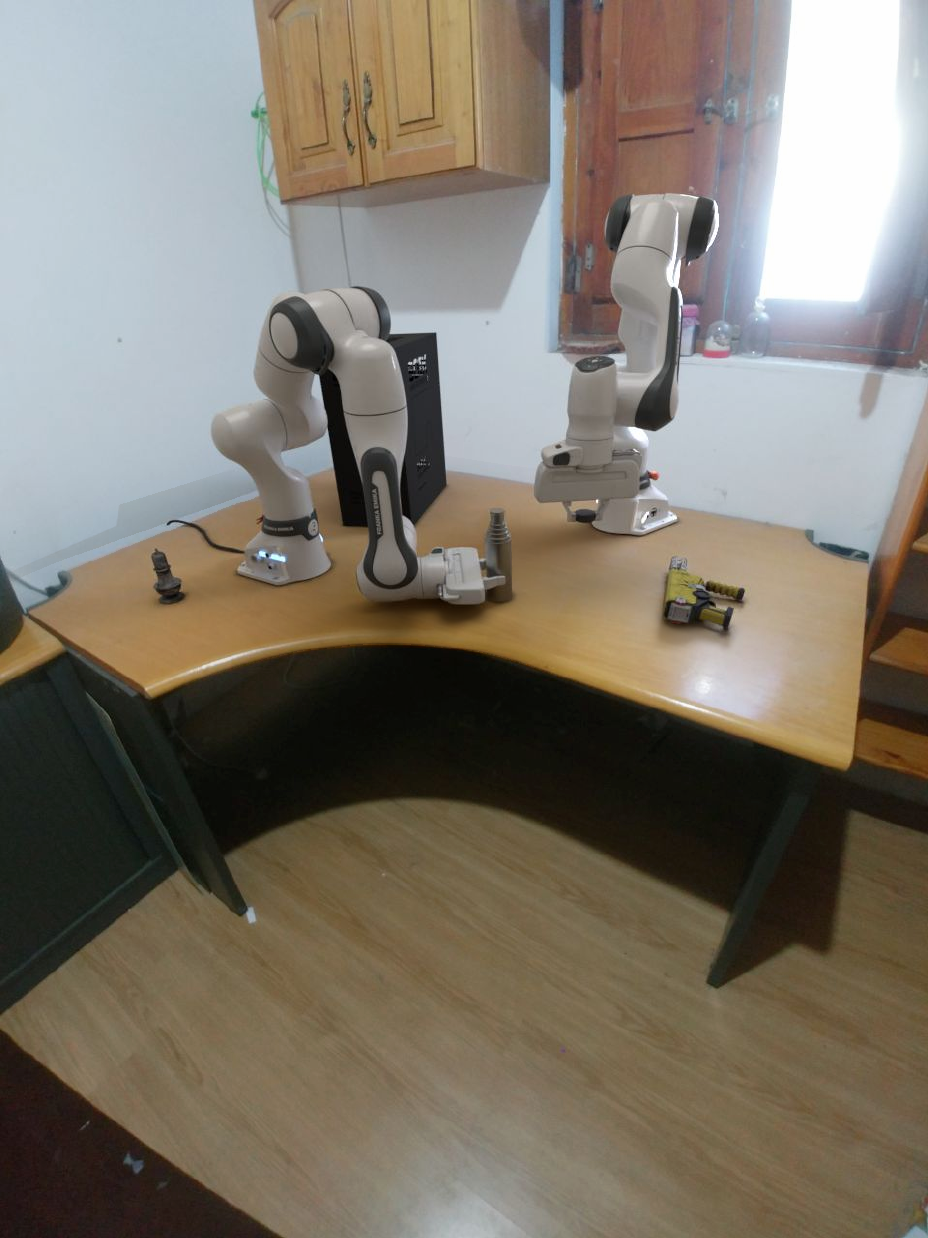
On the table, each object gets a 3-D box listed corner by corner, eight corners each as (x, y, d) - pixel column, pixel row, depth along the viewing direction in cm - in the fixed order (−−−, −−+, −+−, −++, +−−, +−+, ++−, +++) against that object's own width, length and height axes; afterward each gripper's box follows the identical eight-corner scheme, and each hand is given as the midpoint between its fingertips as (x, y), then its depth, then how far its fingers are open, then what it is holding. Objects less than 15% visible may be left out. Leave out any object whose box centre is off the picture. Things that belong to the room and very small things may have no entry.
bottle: (516, 593, 129) (515, 507, 119) (506, 604, 125) (504, 516, 115) (493, 588, 131) (490, 504, 121) (482, 599, 127) (479, 513, 117)
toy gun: (744, 566, 127) (671, 553, 131) (753, 616, 107) (666, 600, 111) (738, 586, 129) (666, 573, 133) (745, 639, 109) (660, 622, 113)
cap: (579, 514, 123) (580, 507, 122) (597, 518, 121) (598, 511, 120) (570, 520, 120) (571, 513, 119) (589, 524, 118) (589, 517, 117)
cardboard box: (411, 527, 164) (393, 348, 142) (343, 525, 169) (314, 350, 146) (446, 484, 196) (436, 332, 173) (387, 483, 200) (370, 334, 178)
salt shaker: (175, 604, 132) (159, 554, 126) (152, 603, 133) (134, 553, 127) (191, 592, 137) (176, 543, 131) (168, 591, 138) (152, 542, 132)
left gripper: (436, 586, 114) (509, 580, 114) (434, 543, 132) (497, 539, 132) (438, 614, 117) (509, 609, 118) (436, 569, 135) (498, 565, 135)
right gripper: (637, 444, 117) (630, 512, 124) (533, 449, 116) (531, 518, 123) (648, 452, 111) (640, 523, 118) (538, 458, 111) (536, 529, 117)
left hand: (503, 572), depth 125 cm, fingers closed on bottle, 5 cm apart
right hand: (584, 520), depth 120 cm, fingers closed on cap, 4 cm apart
